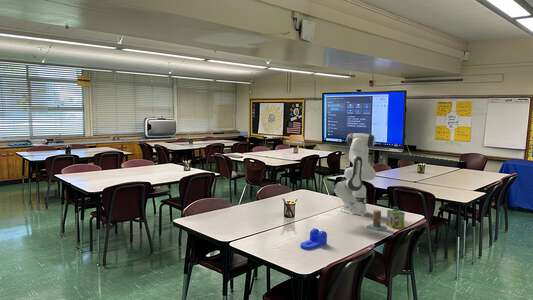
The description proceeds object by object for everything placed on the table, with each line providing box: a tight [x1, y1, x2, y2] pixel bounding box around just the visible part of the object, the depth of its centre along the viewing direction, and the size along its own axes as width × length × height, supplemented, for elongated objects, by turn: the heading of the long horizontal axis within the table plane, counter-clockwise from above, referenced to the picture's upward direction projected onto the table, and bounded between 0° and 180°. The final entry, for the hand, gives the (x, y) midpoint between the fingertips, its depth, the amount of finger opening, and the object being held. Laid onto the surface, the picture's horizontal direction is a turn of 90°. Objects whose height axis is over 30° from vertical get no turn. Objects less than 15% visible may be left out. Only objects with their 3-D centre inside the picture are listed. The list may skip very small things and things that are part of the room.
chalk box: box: [386, 206, 405, 229], centre depth 261 cm, size 9×9×15 cm
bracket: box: [300, 227, 328, 251], centre depth 220 cm, size 18×8×9 cm, turn 131°
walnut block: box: [372, 209, 382, 227], centre depth 257 cm, size 5×5×11 cm
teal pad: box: [366, 223, 387, 232], centre depth 257 cm, size 10×10×2 cm
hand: (363, 215), depth 259 cm, fingers open, 8 cm apart
